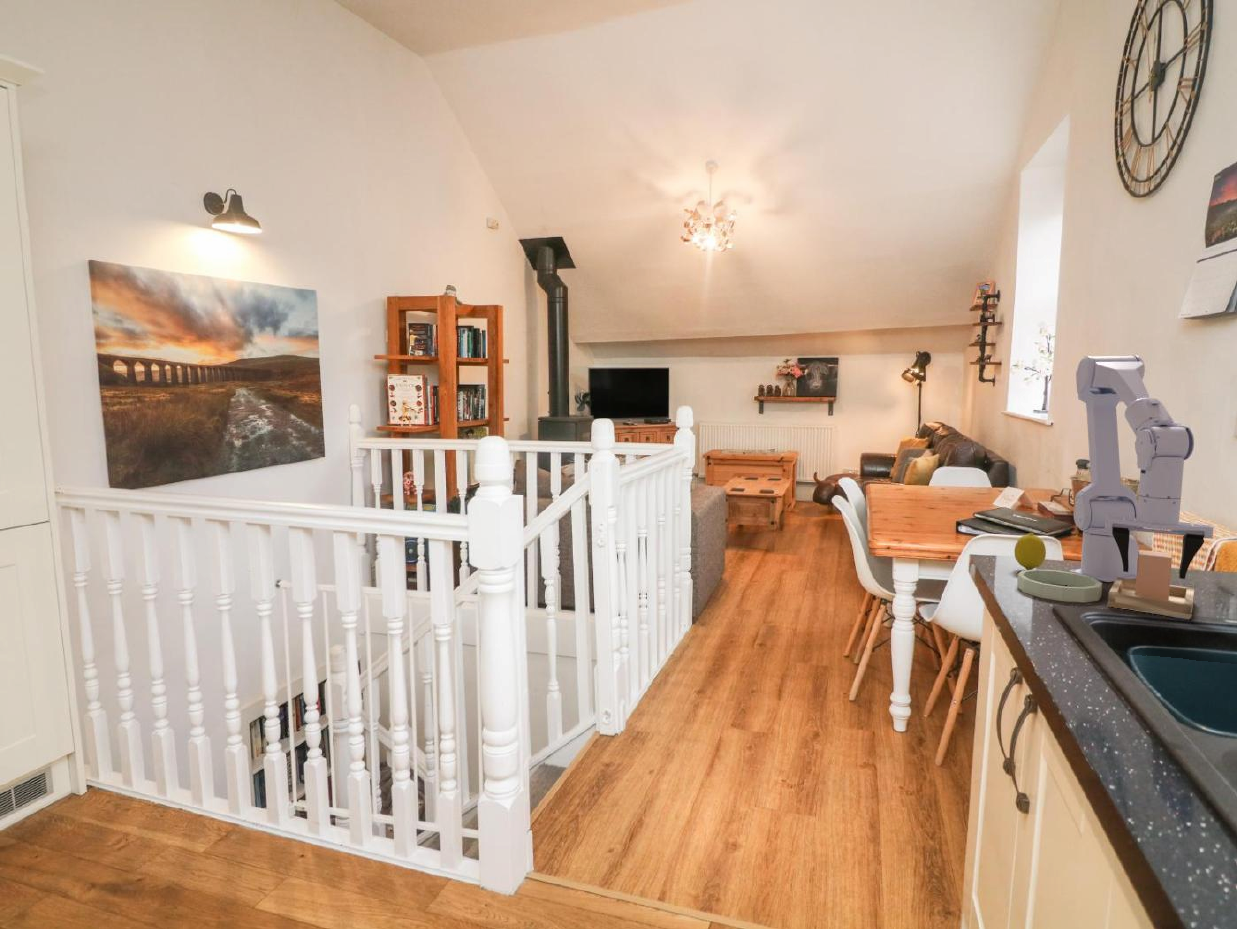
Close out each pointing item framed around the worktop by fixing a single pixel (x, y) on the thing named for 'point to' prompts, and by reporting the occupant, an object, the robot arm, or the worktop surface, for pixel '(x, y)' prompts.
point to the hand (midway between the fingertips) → (1153, 574)
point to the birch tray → (1151, 599)
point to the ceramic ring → (1079, 592)
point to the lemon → (1030, 551)
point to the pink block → (1153, 574)
